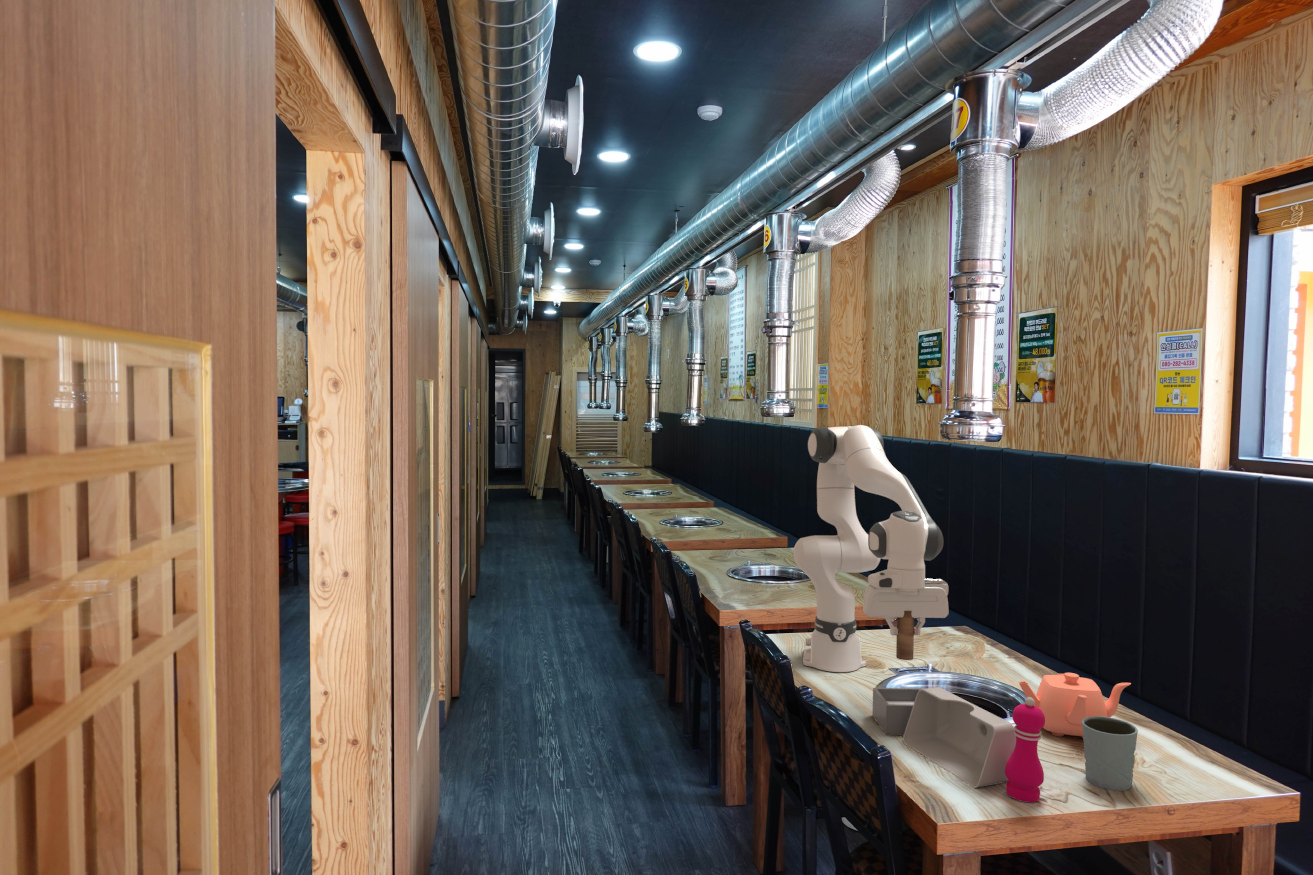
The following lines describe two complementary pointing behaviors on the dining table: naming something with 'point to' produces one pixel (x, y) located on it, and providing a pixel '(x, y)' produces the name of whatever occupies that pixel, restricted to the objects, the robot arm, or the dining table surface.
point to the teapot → (1071, 702)
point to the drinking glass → (1109, 752)
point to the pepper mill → (1025, 754)
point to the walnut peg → (905, 636)
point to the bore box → (893, 708)
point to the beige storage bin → (960, 737)
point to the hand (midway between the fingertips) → (905, 634)
